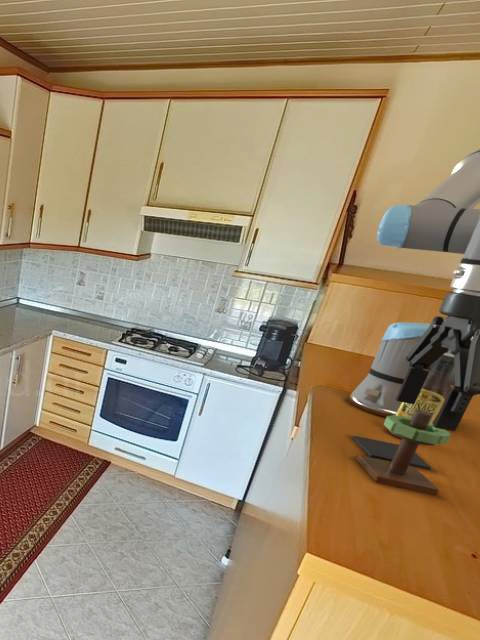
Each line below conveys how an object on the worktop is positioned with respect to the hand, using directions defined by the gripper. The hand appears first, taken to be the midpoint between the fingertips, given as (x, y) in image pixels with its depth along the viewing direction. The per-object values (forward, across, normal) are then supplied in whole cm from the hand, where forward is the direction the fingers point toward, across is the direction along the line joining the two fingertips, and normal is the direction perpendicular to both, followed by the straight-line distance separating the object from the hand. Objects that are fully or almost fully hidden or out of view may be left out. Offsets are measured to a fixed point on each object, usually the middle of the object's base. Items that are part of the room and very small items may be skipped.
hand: (422, 414), depth 86 cm
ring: (+4, 0, 0) cm, 4 cm away
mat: (+12, -13, +4) cm, 19 cm away
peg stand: (+13, 0, 0) cm, 13 cm away
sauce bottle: (+13, -26, +12) cm, 32 cm away
